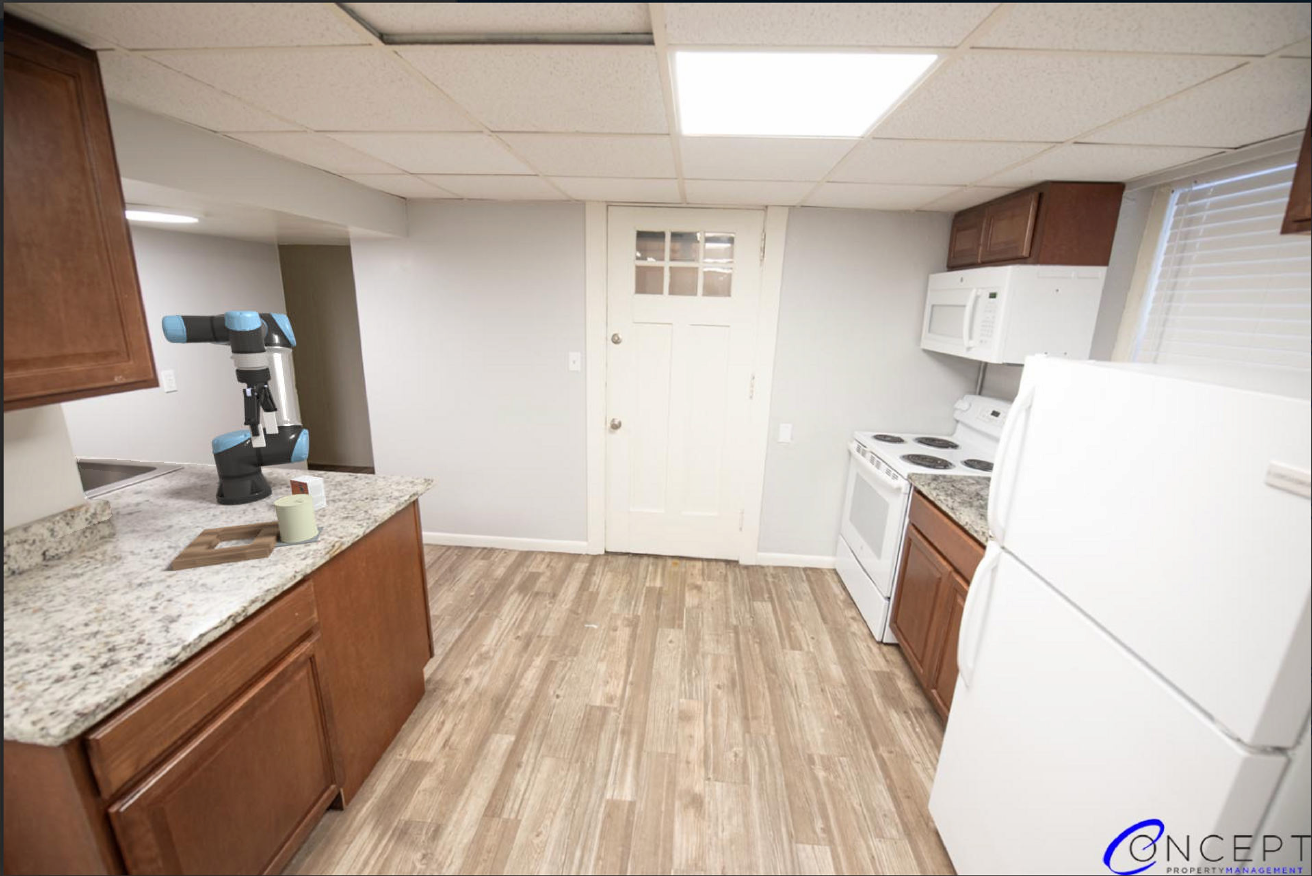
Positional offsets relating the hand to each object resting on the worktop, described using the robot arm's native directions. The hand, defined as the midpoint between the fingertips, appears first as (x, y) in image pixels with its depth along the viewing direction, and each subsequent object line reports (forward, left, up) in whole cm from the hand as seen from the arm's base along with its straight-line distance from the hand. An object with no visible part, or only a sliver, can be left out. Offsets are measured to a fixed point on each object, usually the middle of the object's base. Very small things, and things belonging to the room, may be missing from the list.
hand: (266, 439), depth 145 cm
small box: (-15, +4, -28) cm, 32 cm away
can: (+9, +6, -28) cm, 30 cm away
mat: (+9, +6, -28) cm, 30 cm away
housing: (+10, -9, -28) cm, 31 cm away
